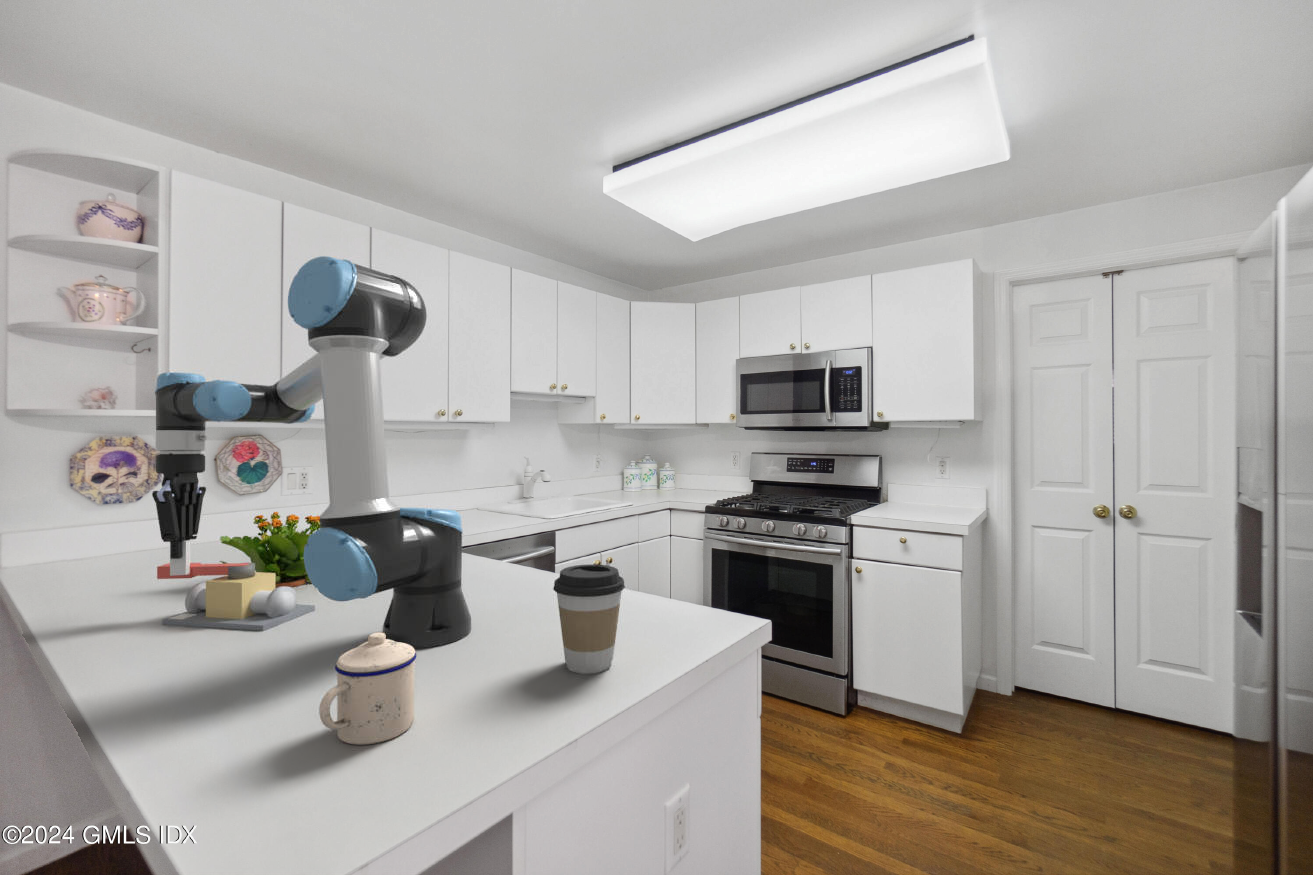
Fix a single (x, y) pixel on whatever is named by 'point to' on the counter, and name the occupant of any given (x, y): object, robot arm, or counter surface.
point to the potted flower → (278, 548)
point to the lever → (211, 571)
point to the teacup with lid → (372, 692)
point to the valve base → (239, 604)
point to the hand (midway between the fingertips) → (179, 574)
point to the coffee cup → (589, 615)
